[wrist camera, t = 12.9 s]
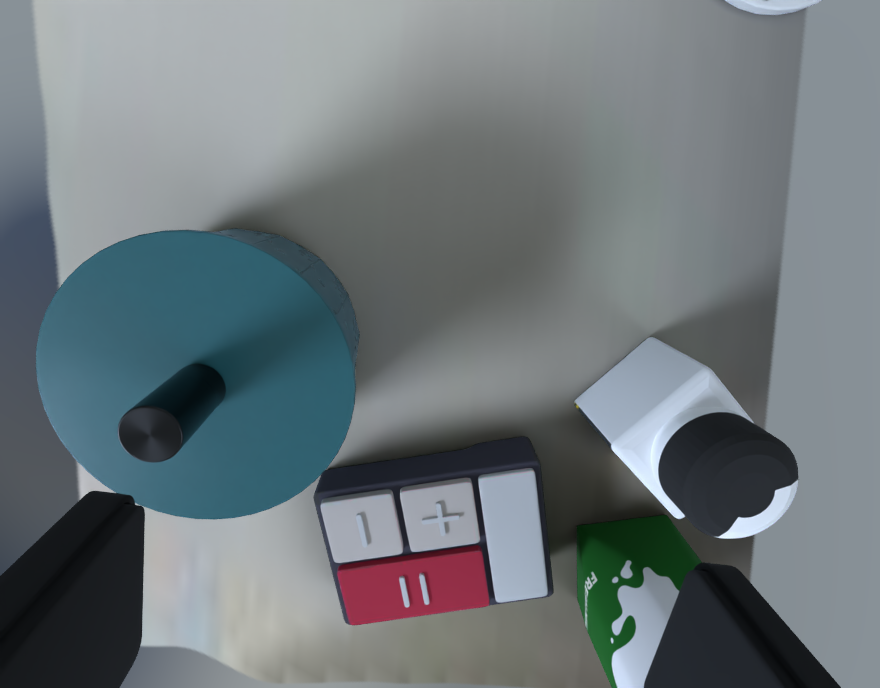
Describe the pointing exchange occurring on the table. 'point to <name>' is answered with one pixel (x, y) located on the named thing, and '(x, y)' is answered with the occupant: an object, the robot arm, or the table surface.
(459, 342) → the table surface
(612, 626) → the milk carton
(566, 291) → the table surface
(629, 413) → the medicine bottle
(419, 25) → the table surface
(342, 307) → the tin
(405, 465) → the calculator
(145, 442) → the lid
